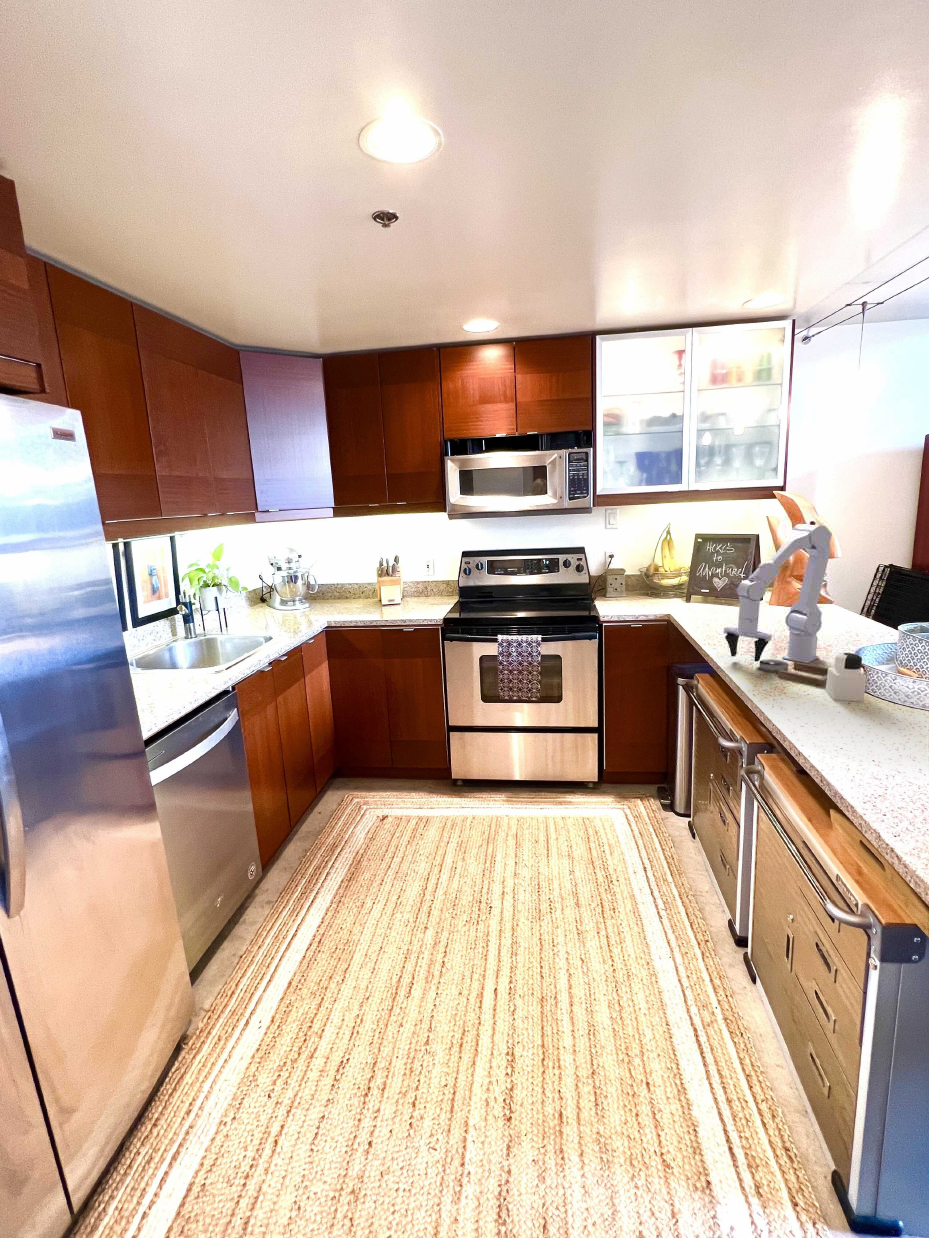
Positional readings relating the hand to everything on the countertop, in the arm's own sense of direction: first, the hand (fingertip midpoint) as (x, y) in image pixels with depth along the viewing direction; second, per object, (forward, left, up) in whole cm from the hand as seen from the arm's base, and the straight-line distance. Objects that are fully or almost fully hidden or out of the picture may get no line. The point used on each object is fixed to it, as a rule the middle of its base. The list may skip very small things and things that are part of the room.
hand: (745, 658), depth 189 cm
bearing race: (0, +9, -2) cm, 9 cm away
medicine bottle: (+10, +32, -2) cm, 34 cm away
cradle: (0, +19, -2) cm, 19 cm away
